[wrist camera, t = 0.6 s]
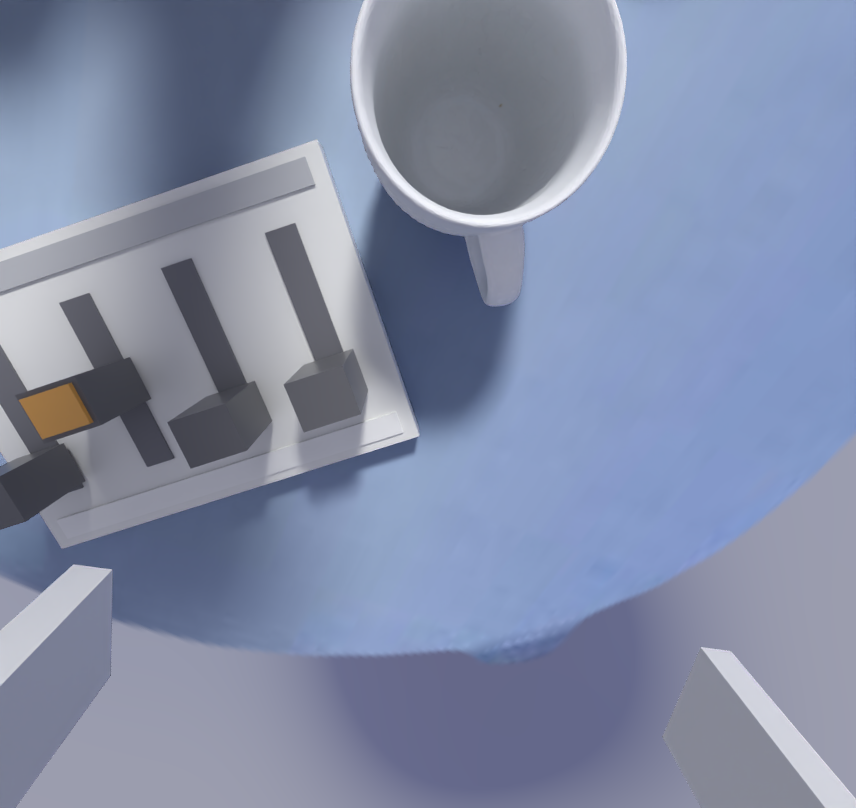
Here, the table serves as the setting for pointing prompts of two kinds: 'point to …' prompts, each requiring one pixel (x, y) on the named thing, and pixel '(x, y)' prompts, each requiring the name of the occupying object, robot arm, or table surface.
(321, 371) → the breaker
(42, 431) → the breaker
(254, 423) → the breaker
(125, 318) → the panel
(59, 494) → the breaker
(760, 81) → the table surface
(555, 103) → the mug
